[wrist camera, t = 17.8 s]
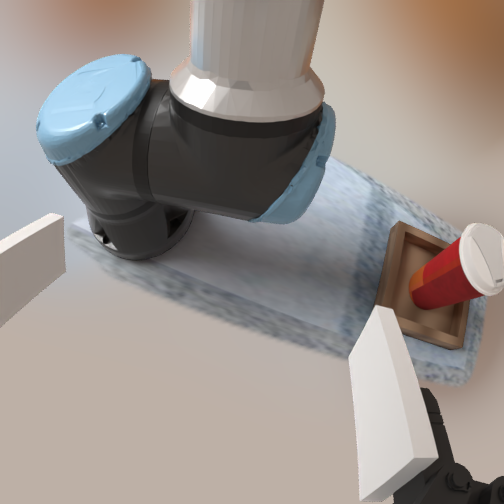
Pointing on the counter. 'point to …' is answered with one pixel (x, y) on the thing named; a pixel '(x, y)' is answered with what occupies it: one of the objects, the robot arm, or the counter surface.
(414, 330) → the walnut tray
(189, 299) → the counter surface
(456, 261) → the coffee cup
